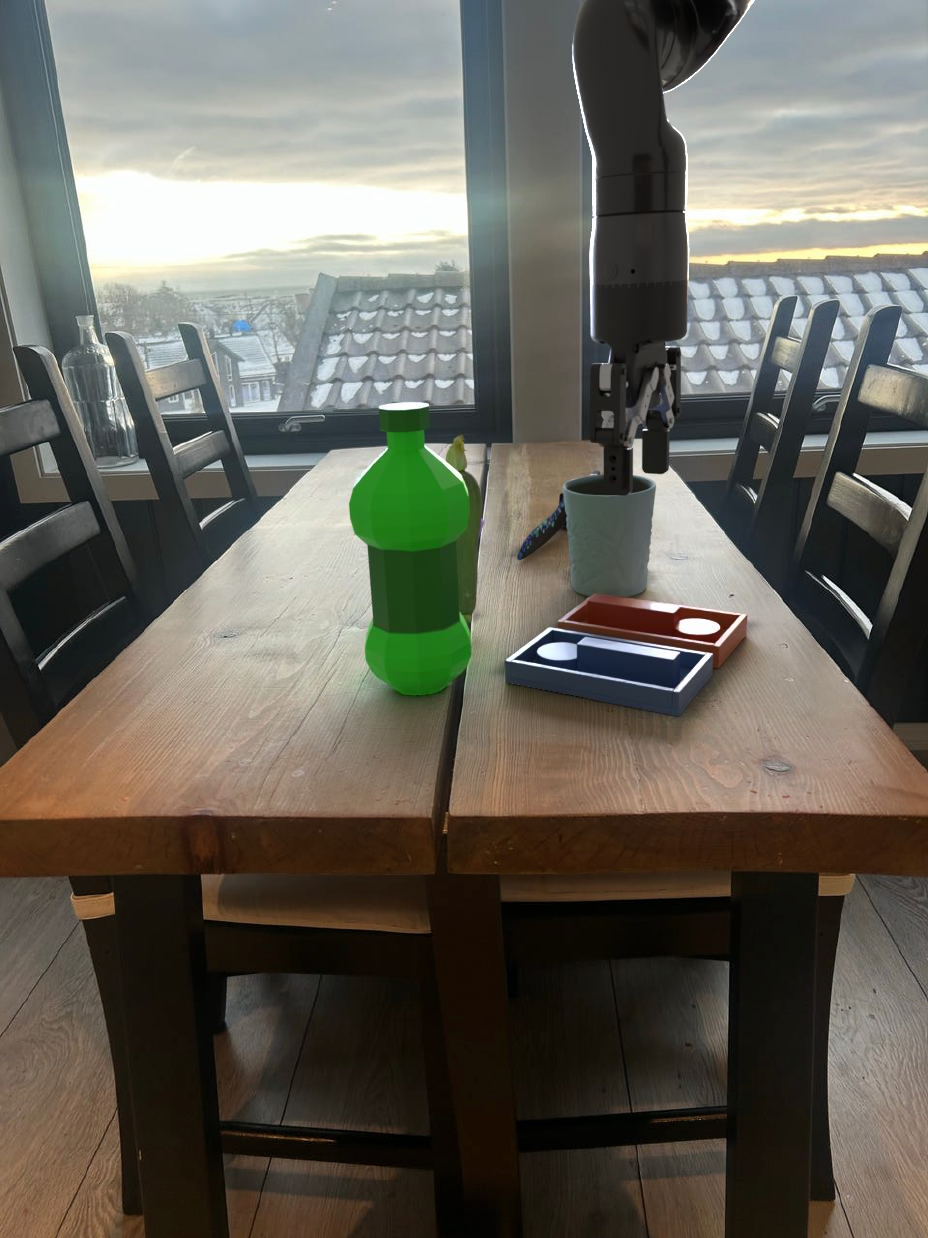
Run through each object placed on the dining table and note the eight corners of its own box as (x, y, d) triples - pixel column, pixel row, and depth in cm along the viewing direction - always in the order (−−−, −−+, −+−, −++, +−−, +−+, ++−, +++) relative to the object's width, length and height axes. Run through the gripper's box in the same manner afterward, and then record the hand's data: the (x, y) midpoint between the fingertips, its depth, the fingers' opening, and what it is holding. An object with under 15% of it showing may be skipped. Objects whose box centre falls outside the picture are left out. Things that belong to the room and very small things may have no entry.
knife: (593, 496, 150) (591, 467, 148) (612, 498, 148) (610, 468, 146) (500, 576, 126) (496, 542, 124) (521, 578, 125) (518, 545, 123)
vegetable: (443, 618, 107) (433, 430, 100) (483, 615, 107) (477, 428, 100) (446, 632, 103) (436, 438, 96) (488, 629, 103) (481, 435, 96)
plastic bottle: (461, 712, 85) (447, 415, 76) (346, 702, 88) (320, 415, 79) (490, 666, 94) (481, 396, 85) (385, 658, 97) (365, 397, 88)
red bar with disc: (582, 630, 100) (582, 604, 99) (599, 616, 104) (599, 591, 103) (711, 651, 94) (713, 623, 93) (725, 635, 97) (727, 608, 96)
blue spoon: (684, 676, 89) (685, 647, 88) (667, 695, 85) (668, 665, 84) (549, 653, 95) (549, 625, 94) (528, 669, 91) (528, 641, 90)
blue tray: (712, 676, 90) (713, 653, 89) (678, 716, 82) (679, 692, 82) (549, 648, 98) (549, 627, 97) (505, 683, 90) (504, 660, 90)
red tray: (746, 635, 99) (747, 614, 98) (718, 668, 91) (719, 646, 91) (594, 612, 107) (594, 593, 106) (557, 641, 99) (557, 621, 98)
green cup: (658, 575, 117) (661, 474, 113) (646, 604, 108) (649, 495, 104) (573, 571, 120) (573, 472, 116) (555, 598, 111) (553, 492, 107)
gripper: (653, 279, 70) (650, 506, 76) (714, 271, 81) (708, 468, 87) (555, 283, 74) (560, 499, 79) (627, 275, 85) (626, 464, 91)
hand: (637, 483), depth 83 cm, fingers open, 8 cm apart
